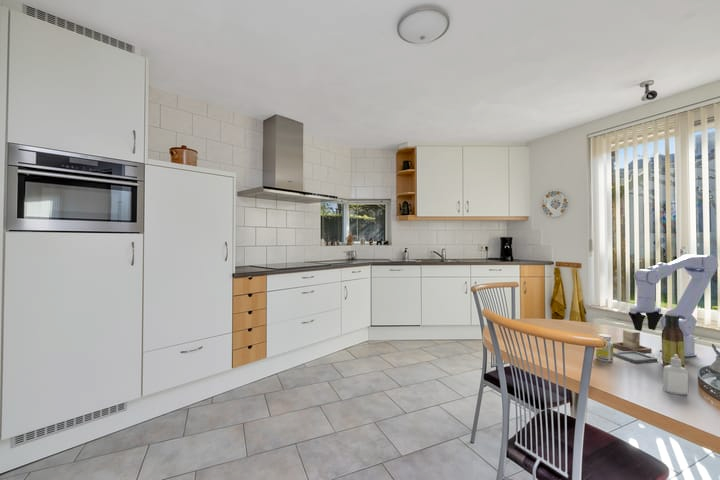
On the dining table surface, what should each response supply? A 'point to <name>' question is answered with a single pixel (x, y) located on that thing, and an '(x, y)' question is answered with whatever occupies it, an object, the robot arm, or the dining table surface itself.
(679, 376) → the eye dropper bottle
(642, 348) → the holder
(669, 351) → the sauce bottle
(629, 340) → the peg
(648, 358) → the tray
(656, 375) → the dining table surface
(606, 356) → the supplement bottle
